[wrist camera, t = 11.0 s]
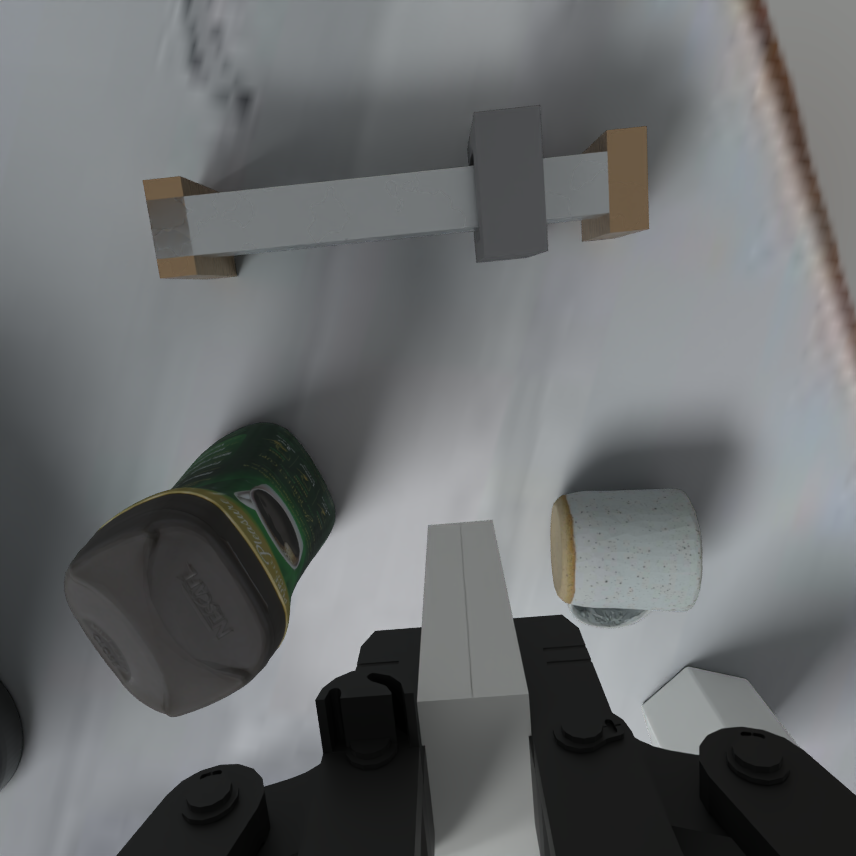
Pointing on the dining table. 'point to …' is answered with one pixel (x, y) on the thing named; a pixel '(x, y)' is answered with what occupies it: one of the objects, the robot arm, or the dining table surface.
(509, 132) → the grey notched bracket
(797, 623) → the dining table surface
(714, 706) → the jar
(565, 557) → the ceramic mug
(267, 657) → the coffee jar
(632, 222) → the grey long bar
